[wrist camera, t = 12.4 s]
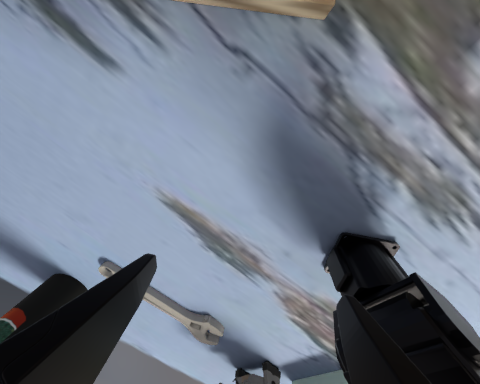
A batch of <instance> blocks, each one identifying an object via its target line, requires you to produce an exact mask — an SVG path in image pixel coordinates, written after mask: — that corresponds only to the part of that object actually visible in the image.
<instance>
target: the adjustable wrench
mask: <svg viewBox="0 0 480 384" xmlns="http://www.w3.org/2000/svg"><path fill="white" fill-rule="evenodd" d="M107 268H108V269H109V270H108V269H107ZM121 269H122V268H120V267H119V266H117V265H116V264H114V263H112V262H109V261H106V262H104V263H103V264H102V265H101V266H100V267H99V272H100V273H101V274H102V275H103V276H105V277H106V278H108V277H110V276H111V275H113V274H115V273H116V272H118V271H119V270H121ZM110 270H111V271H110ZM143 300H145V301H146V302H148V303H150V304H151V305H153V306H155V307H156V308H158V309H160V310H161V311H163V312H165V313H166V314H168V315H170V316H171V317H173V318H175V319H176V320H178V321H179V322H181V323H182V324H183V325H184V326H185V327H186V328H187V329H188V330H189V331H190V332H191V333H192V335H193V336H194V337H195V338H196V339H197V340H199V341H200V342H202V343H205V344H209V345H217V344H218V342H219V337H220V336H221V337H222V336H223V332H224V327H223V325H222V324H221V323H220V322H219V321H217V320H216V319H214V318H212V316H211V315H199V314H195V313H193V312H190V311H188V310H187V309H185V308H183V307H182V306H180V305H179V304H177V303H176V302H174V301H172V300H171V299H169V298H168V297H166V296H164V295H163V294H161V293H160V292H158V291H157V290H155V289H153V288H152V287H150V286H149V287H148V289H147V291H146V293H145V295H144V297H143ZM207 330H209V331H210V333H208V331H207ZM211 333H213V334H211ZM214 334H215V335H214ZM217 335H218V336H217Z"/></svg>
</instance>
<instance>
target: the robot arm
mask: <svg viewBox="0 0 480 384" xmlns="http://www.w3.org/2000/svg"><path fill="white" fill-rule="evenodd" d="M345 236H347V237H345ZM344 237H345V238H344ZM393 246H394V247H393ZM399 248H400V246H399V245H398V244H397V243H396V242H393V241H388V240H382V239H377V238H372V237H367V236H361V235H356V234H351V233H342V234H341V235H340V237H339V239H338V241H337V243H336V245H335V247H334V248H333V249H332V251H331V253H330V255H329V257H328V259H327V261H326V265H325V267H324V270H325V272H326V273H329V274H331V277H332V280H333V283H334V286H335V289H336V290H337V291H338V292H340V293H341V295H342V297H341V299H340V301H339V302H338V304H337V310H336V311H334V312H333V315H334V332H335V348H336V354H337V359H338V361H339V363H340V366H341V368H342V370H343V375H344V377H345V379H346V381H347V382H348V384H480V338H479V336H478V335H477V333H476V332H475V330H474V329H473V327H472V326H471V325H470V324H469V322H468V321H467V320H466V319H465V318H464V317H463V316H462V315H461V314H460V313H459V312H458V311H457V310H456V308H455V307H454V306H453V305H452V304H451V303H450V302H449V301H448V300H447V299H446V298H445V297H444V296H443V295H442V294H440V293H439V292H438V291H437V290H436V289H434V288H433V287H432V286H431V285H430V284H429V283H427V282H426V281H425V280H424V279H423V278H422V277H420V276H419V275H418V274H417V273H416V272H415V273H413V274H411V275H409V276H408V275H407V274H406V272H405V271H404V270H403V268H402V267H401V266H400V265H399V263H398V262H397V261H396V260H395V258H394V257H393V256H394V255H395V254H396V252H397V251H398V249H399ZM156 269H157V263H156V256H155V255H153V254H145V255H143V256H142V257H140V258H139V259H137V260H135V261H134V262H132V263H131V264H129V265H127V266H126V267H124V268H123V269H121V270H119V271H118V272H116V273H115V274H113V275H111V276H110V277H108V278H107V279H105V280H103V281H102V282H100V283H99V284H97V285H96V286H94V287H92V288H91V289H89V290H88V291H86V292H84V293H83V294H81V295H80V296H78V297H76V298H75V299H73V300H72V301H70V302H68V303H67V304H65V305H64V306H62V307H60V308H59V310H56V311H54V312H52V313H51V314H49V315H48V316H46V317H44V318H43V319H41V320H39V321H38V322H36V323H34V324H33V325H31V326H30V327H28V328H26V329H25V330H23V331H21V332H19V333H18V334H16V335H14V336H12V337H11V338H9V339H7V340H5V341H4V342H2V343H0V384H93V383H94V381H95V379H96V378H97V376H98V375H99V373H100V371H101V369H102V368H103V366H104V364H105V363H106V361H107V359H108V358H109V356H110V354H111V353H112V351H113V349H114V348H115V346H116V344H117V342H118V341H119V339H120V337H121V336H122V334H123V332H124V331H125V329H126V327H127V326H128V324H129V322H130V321H131V319H132V317H133V315H134V314H135V312H136V310H137V309H138V307H139V305H140V303H141V301H142V299H143V297H144V295H145V293H146V291H147V289H148V287H149V285H150V282H151V280H152V278H153V276H154V274H155V272H156Z"/></svg>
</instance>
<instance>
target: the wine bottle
mask: <svg viewBox="0 0 480 384" xmlns="http://www.w3.org/2000/svg"><path fill="white" fill-rule="evenodd" d="M86 291H87V289H86V287H85V286H84V285H83V284H82V283H80V282H79V281H78V280H76V279H74V278H72V277H70V276H67V275H64V274H54V275H53V276H51V277H50V278H49V279H48V280H46V281H45V282H44V283H43V284H41V285H40V286H39V287H38V288H37V289H35V290H34V291H33V292H32V293H30V294H29V295H28V296H27V297H26V298H24V299H23V300H22V301H21V302H20V303H18V304H17V305H16V306H15V307H13V308H12V309H11V310H10V311H9V312H7V313H6V314H5V315H4V316H3V317H1V318H0V343H2V342H4V341H5V340H7V339H9V338H11V337H12V336H14V335H16V334H18V333H19V332H21V331H23V330H25V329H26V328H28V327H30V326H31V325H33V324H34V323H36V322H38V321H39V320H41V319H43V318H44V317H46V316H48V315H49V314H51V313H52V312H54V311H56V310H59V308H60V307H62V306H64V305H65V304H67V303H68V302H70V301H72V300H73V299H75V298H76V297H78V296H80V295H81V294H83V293H84V292H86Z"/></svg>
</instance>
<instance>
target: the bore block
mask: <svg viewBox="0 0 480 384" xmlns="http://www.w3.org/2000/svg"><path fill="white" fill-rule="evenodd" d="M173 1H180V2H188V3H196V4H204V5H211V6H219V7H227V8H235V9H243V10H250V11H258V12H266V13H274V14H281V15H289V16H297V17H305V18H313V19H320V20H324V19H325V18H326V16H327V15H328V13H329V12H330V11H331V9H332V8H333V6H334V4H335V0H173Z"/></svg>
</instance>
